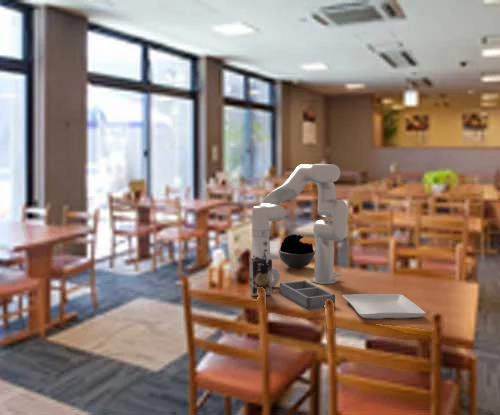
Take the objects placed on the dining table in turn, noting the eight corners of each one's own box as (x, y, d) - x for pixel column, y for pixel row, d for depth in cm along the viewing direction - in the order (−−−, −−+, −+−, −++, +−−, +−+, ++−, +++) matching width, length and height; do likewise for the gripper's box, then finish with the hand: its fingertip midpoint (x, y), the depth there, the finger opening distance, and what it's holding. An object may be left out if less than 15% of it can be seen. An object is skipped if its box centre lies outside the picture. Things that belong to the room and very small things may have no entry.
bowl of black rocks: (296, 262, 301) (297, 231, 299) (321, 269, 286) (322, 235, 284) (271, 267, 288) (272, 234, 286) (296, 274, 273) (297, 239, 271)
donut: (264, 289, 243) (264, 269, 242) (260, 288, 246) (260, 267, 245) (280, 286, 249) (281, 266, 247) (276, 285, 252) (277, 265, 250)
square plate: (426, 321, 202) (427, 312, 201) (359, 322, 200) (359, 313, 199) (401, 301, 229) (401, 292, 228) (341, 301, 226) (341, 293, 226)
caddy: (279, 293, 237) (280, 283, 236) (304, 290, 242) (305, 280, 242) (307, 309, 214) (307, 298, 213) (334, 306, 219) (335, 294, 218)
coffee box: (253, 296, 229) (252, 261, 227) (249, 292, 235) (249, 258, 233) (272, 294, 231) (272, 259, 229) (268, 290, 237) (268, 256, 235)
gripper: (276, 235, 223) (276, 275, 226) (260, 229, 239) (260, 266, 241) (261, 237, 220) (261, 277, 223) (245, 230, 236) (245, 268, 238)
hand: (260, 271), depth 232 cm, fingers closed on coffee box, 6 cm apart
